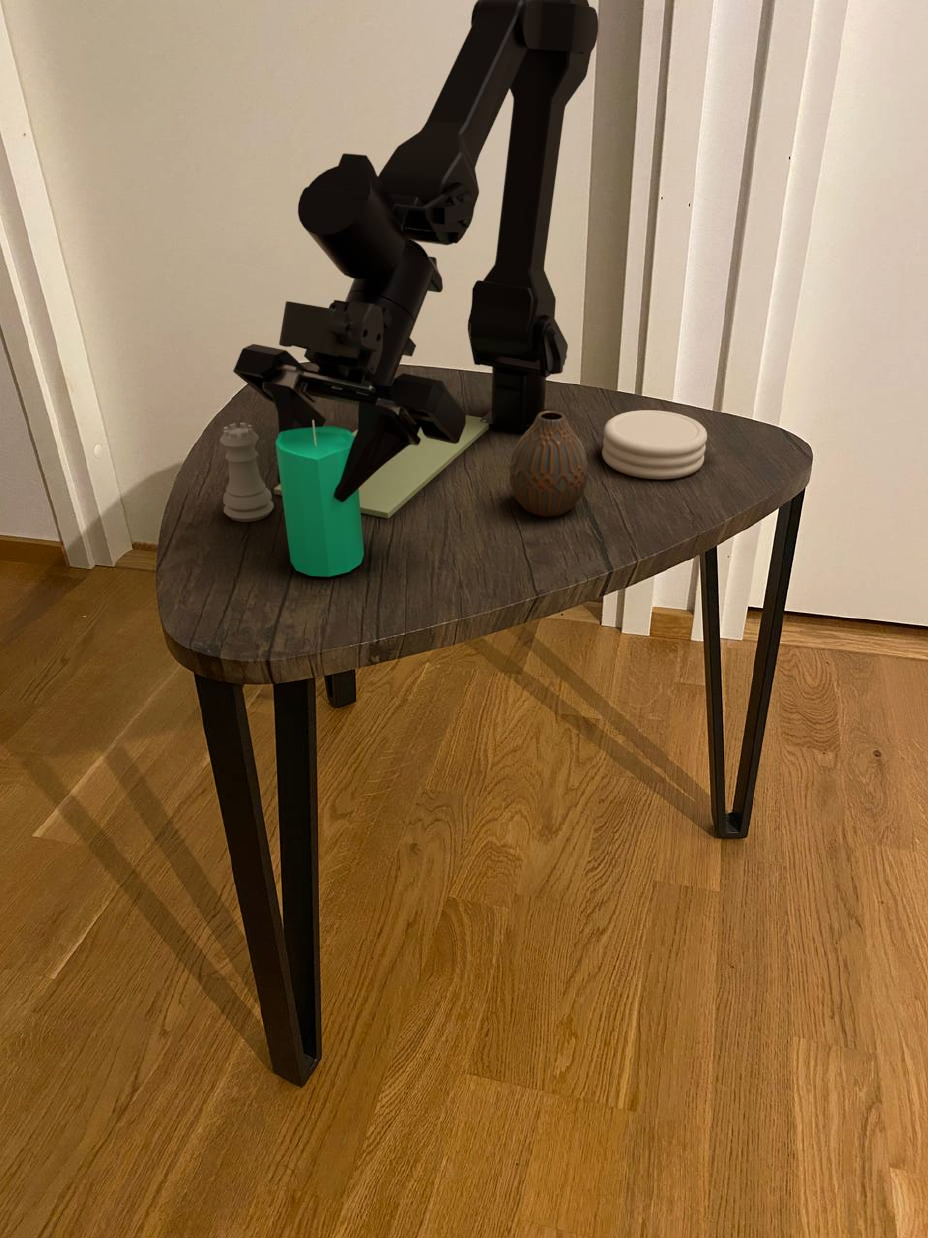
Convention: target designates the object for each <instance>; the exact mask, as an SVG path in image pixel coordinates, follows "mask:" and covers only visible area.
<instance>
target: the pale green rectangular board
mask: <svg viewBox="0 0 928 1238" xmlns="http://www.w3.org/2000/svg"><path fill="white" fill-rule="evenodd" d="M482 418H483V417H479V416H474V415H468V414H466V424H465V427H464V430H463V432H462V435H461V438H460V440H459V443H456V444H453V443H448V442H444V441H439V440H435V439H430V438H427V437H426V436H425V435H424V434H423V431H422V429H421V427H420V429H419V432H418V434H417V435H418V436H419V437H420V439H421V441H420V443H419V445H409V446H407V447H406V448H405V449H403V450H402V451H401V452H399V453H398V454H397V455H396V456H394V457H393V458H392V459H390V460H389V461H388V462H387V463H385V464H384V465H383V466H382V467H381V468H380V469H378V470H377V471H376V472H375V473H374V474H373V475H372V476H371V477H370V478H369V479H368V480H367V481H366V482H365V483H363V484H362V485H361V486H360V487H359V499H360V511H361V514H365V515H369V516H374V517H379V518H383V519H390V518H391V517H392V516H393V515H394V514H396V512H397V511H399V510H400V509H401V508H402V507H403V506H404V505H405V504H407V502H408V501H410V500H411V499H412V498H413V497H414V496H415V495H417V494H418V493H419V492H420V491H421V490H422V489H423V488H424V487H425V486H427V485H428V484H429V483H430V482H431V481H432V480H433V479H434V478H435V477H437V476H438V475H439V474H440V473H441V472H442V471H443V470H444V469H446V467H448V466H449V465H450V464H451V463H452V462H453V461H454V460H456V458H458V457H459V456H460V455H461V454H462V453H463V452H465V451H466V450H467V449H468V448H469V447H470V446H471V445H472V444H473V443H475V442H476V441H477V440H478V439H479V438H480V437H481V436H483V434H485V433H486V432H487V431H488V430H489V429H490V428H491V427H489V424H488V423H485V422H486V420H485V419H486V418H485V419H484V418H483V420H482V421H481V422H480V420H481V419H482ZM491 420H492V419H491ZM483 422H484V423H483ZM487 422H488V421H487ZM489 422H490V421H489ZM357 430H358V428H357V429H356V430H354V431H352V432H351V433H352V434H353V435H354V437H355V436H356V433H357ZM273 493H274V495H277V496H281V497H282V490H281V484H278V485H277V486H275V487H274V488H273Z"/></svg>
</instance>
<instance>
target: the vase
mask: <svg viewBox="0 0 928 1238" xmlns="http://www.w3.org/2000/svg"><path fill="white" fill-rule="evenodd" d="M588 471H589V466H588V458H587V454H586V450H585V447H584V445H583V443H582V441H581V440H580V438H579V436H577V434H576V433H575V431H574V430H573V429H572V428H571V426H570V424H569V422H568V420H567V416H566V414H564V412H561V411H559V410H554V411H543V412H540V413H539V414H538V415H537V417H536V419H535V421H534V423H533V424H532V426H531V427H530V428H529V429H528V430H527V431H526V432H525V433H522V435H521V437H520V438H519V439H518V440H517V442H516V443H515V446H514V448H513V450H512V454H511V458H510V461H509V483H510V488H511V490H512V494H513V496H514V498H515V499H516V501H517V502H518V503H519V505H520V506H521V507H522V508H523V509H525V510H526V511H527V512H528V513H530V514H532V515H534V516H539V517H549V518H550V517H558V516H561V515H564V514H566V513H567V512H569V510H571V509H573V508H574V506H575V505H576V504H577V503H578V502H579V501H580V500H581V497H582V496H583V493H584V492H585V488H586V485H587V482H588V474H589V473H588Z"/></svg>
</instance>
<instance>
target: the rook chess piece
mask: <svg viewBox="0 0 928 1238" xmlns="http://www.w3.org/2000/svg"><path fill="white" fill-rule="evenodd" d="M222 430H223V432H222V433H223V435H221V437H220V439H219V440H220V444H222V445H223V446H224V448H225V449H226V453H225V455H224V458H225V459H226V460H227V462H228V483H227V485H226V487H225V488H226V491H225V492H224V494H223V496H222V497H223V498H222V501H223V502H222V503H223V504H224V505H225V506H223V513H224V514H225V515H227V517H228V518H229V519H231V520H233V521H236V522H241V523H250V522H251V523H252V522H257V521H260V520H263V519H265V518H267V517H269V515H270V514H271V512H272V511H273V509H274V507H275V505H274V502H273V501H272V499H273V498H272V493H271V490H270V489H268V488H267V487H266V483H265V482H264V481H263V479H262V477H261V474H260V470H259V467H258V466H259V465H258V463H257V457H258V456H259V452H258V451H256V448H255V447H256V444H257V442H258V441H259V438H260V437H259V435H258V434H257V433H256V432H255V431H254V426H253V425H252V424H247V423H246V422H240V423H239V427H237V425H236V423H230V424H229V426H228V425H227V426H224V427H223V428H222Z"/></svg>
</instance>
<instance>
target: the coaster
mask: <svg viewBox="0 0 928 1238" xmlns="http://www.w3.org/2000/svg"><path fill="white" fill-rule="evenodd" d="M603 435H604V436H603V440H602V446H603V447H602V449H601V455H602V458H603V460H604V462H605V463H606V464H607V465H608V466H609V467H610V468H612V469H613V470H615V471H617V472H619V473H621V474H624V475H627V476H630V477H633V478H639V479H646V480H674V479H680V478H685V477H687V476H690V475H692V474H694V473H696V472H697V471H699V469H701V468H702V466H703V465H704V461H705V452H706V449H707V447H706V443H707V440H708V432H707V430H706V428H705V427H704V426H703V425H702V423H700V422H699V421H698V420H696V419H694V418H692V417H690V416H686V415H684V414H680V413H677V412H671V411H666V410H655V409H653V410H652V409H649V410H648V409H644V410H643V409H642V410H631V411H627V412H623V413H620V414H617V415H615V416H613V417H612V418H610V419H609V420H608V421H607V422H606V423H605V426H604V428H603Z"/></svg>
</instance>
